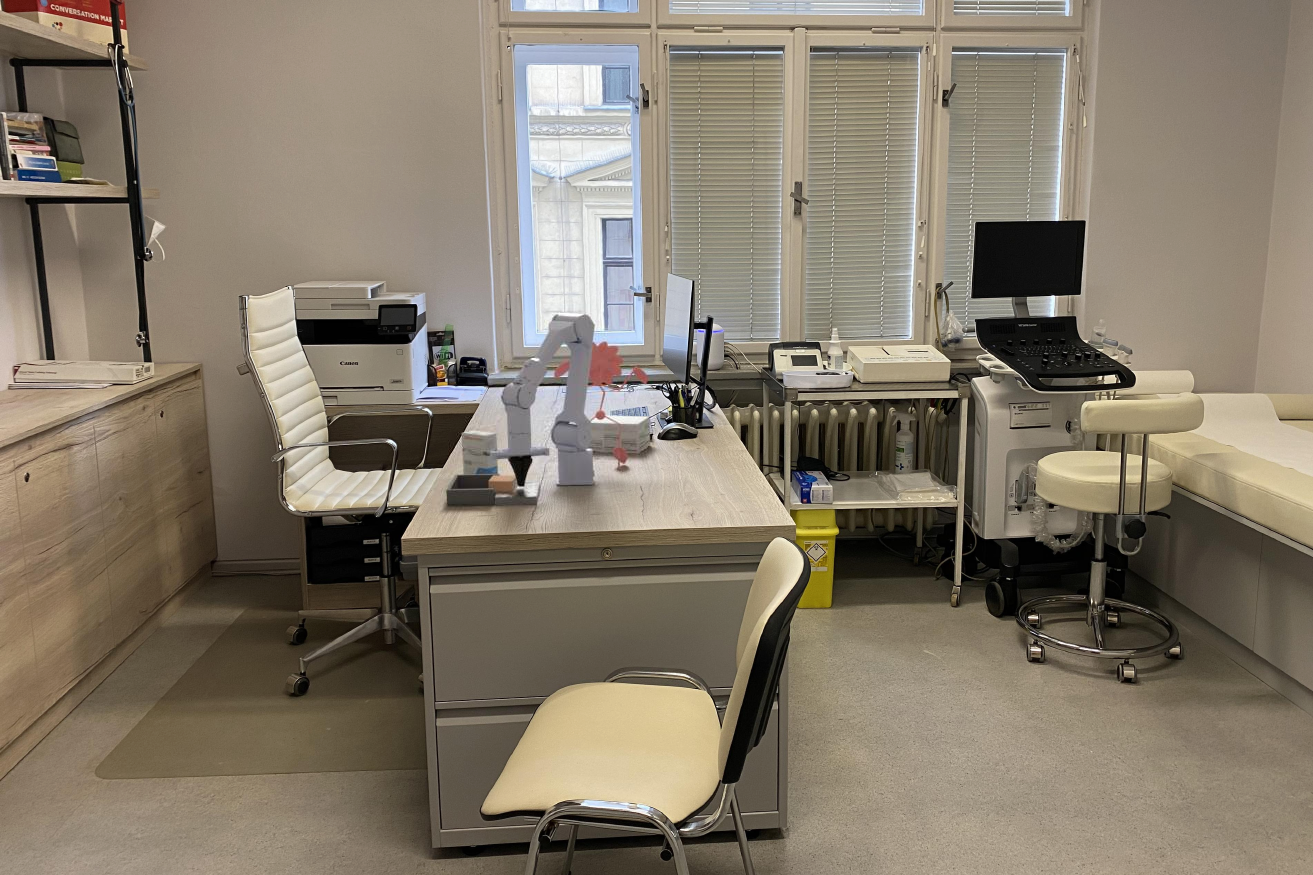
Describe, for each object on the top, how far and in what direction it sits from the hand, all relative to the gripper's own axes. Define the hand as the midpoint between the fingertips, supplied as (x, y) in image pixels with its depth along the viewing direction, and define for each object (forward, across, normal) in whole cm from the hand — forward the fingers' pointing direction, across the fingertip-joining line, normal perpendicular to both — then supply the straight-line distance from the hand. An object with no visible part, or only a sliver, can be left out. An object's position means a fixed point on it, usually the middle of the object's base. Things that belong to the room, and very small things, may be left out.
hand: (520, 485), depth 251 cm
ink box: (+3, +4, -27) cm, 27 cm away
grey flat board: (+3, +1, 0) cm, 3 cm away
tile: (+1, +4, -2) cm, 5 cm away
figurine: (+3, -30, -26) cm, 40 cm away
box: (+3, +11, -4) cm, 12 cm away
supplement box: (+3, -42, -45) cm, 62 cm away
